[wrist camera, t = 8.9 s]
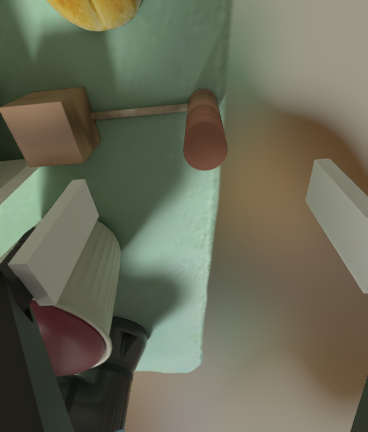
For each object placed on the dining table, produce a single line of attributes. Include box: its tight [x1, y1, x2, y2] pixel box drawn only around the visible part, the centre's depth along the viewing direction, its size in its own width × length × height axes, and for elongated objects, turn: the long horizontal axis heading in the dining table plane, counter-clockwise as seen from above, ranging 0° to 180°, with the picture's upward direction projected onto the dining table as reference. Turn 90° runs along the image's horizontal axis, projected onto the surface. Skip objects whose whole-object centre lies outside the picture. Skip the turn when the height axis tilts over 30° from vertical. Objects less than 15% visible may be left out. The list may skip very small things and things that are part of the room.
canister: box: [0, 220, 121, 376], centre depth 33 cm, size 18×18×21 cm
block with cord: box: [0, 87, 227, 170], centre depth 24 cm, size 6×20×12 cm, turn 96°
